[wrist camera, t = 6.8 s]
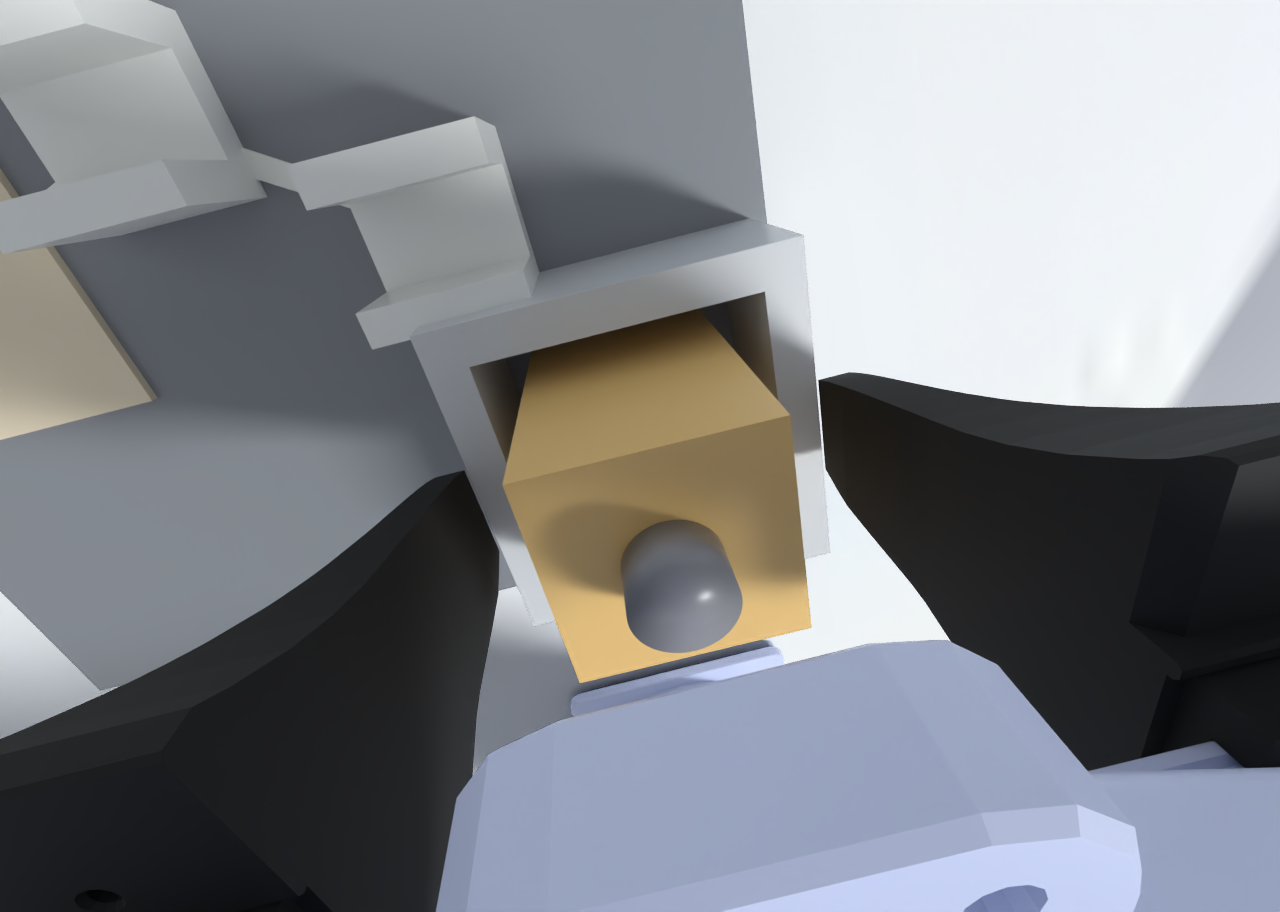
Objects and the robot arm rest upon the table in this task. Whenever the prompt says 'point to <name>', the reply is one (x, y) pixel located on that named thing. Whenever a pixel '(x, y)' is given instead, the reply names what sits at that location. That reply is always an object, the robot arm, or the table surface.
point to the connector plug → (657, 496)
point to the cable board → (341, 277)
